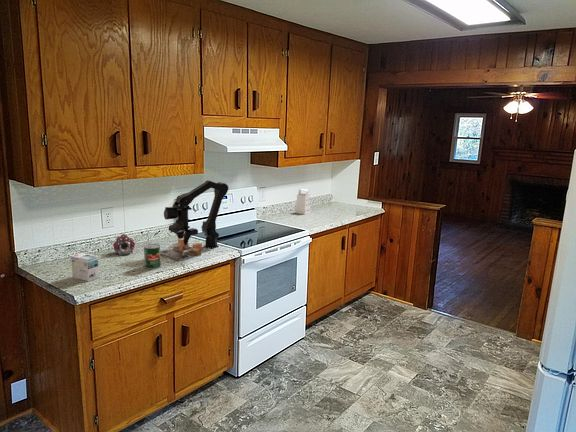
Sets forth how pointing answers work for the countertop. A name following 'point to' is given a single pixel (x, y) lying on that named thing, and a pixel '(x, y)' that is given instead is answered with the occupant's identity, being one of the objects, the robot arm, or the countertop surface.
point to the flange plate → (174, 255)
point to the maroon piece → (124, 245)
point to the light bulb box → (85, 266)
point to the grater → (302, 203)
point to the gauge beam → (191, 249)
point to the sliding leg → (179, 245)
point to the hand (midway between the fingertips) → (183, 244)
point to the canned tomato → (152, 256)
